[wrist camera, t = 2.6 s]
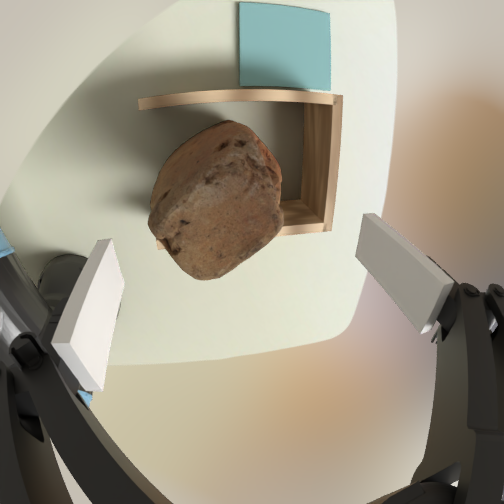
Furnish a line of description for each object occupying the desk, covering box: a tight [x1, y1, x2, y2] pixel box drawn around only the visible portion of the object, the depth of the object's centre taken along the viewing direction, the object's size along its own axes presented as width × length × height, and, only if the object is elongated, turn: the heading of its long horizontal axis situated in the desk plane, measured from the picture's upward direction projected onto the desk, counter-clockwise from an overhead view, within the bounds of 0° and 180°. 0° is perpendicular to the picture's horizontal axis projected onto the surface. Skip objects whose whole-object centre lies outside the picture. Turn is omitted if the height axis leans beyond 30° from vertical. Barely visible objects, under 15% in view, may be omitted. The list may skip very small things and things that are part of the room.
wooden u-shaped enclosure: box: [138, 89, 343, 250], centre depth 31 cm, size 21×16×8 cm
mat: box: [239, 2, 331, 91], centre depth 27 cm, size 12×12×1 cm
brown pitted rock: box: [148, 120, 284, 280], centre depth 25 cm, size 11×8×20 cm
